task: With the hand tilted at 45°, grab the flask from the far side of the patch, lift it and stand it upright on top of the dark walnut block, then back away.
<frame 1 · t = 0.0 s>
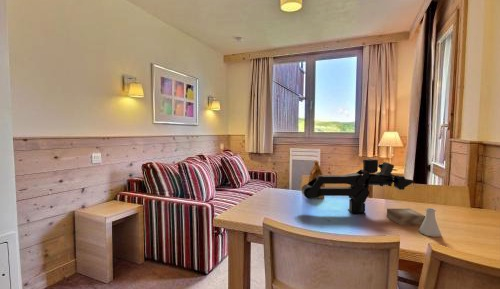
hand: (408, 179, 130), 17 cm above the table, tool horizontal, fingers open, 9 cm apart
coffee package: (316, 196, 161), on the table
flask: (429, 234, 104), on the table
walnut block: (405, 220, 118), on the table
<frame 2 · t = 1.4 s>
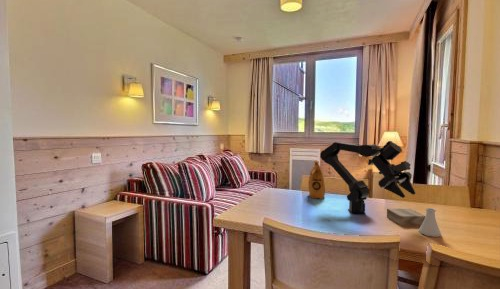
hand: (409, 195, 110), 14 cm above the table, tool tilted 45°, fingers open, 9 cm apart
nothing on the table moved.
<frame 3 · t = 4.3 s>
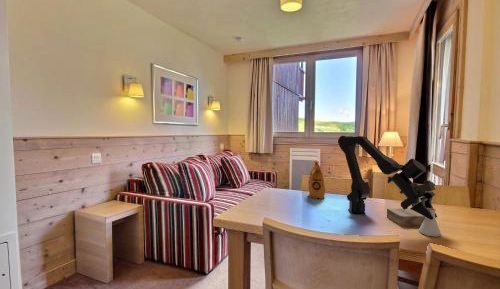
hand: (434, 218, 102), 7 cm above the table, tool tilted 45°, fingers closed on flask, 3 cm apart
flask: (429, 234, 104), on the table, touching gripper
everything else where it was.
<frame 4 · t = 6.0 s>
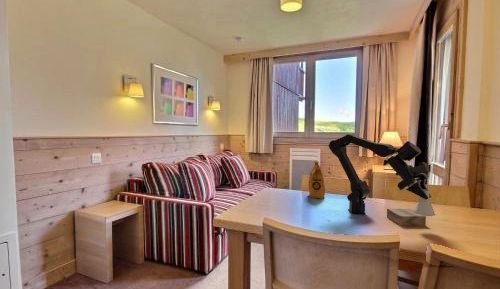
hand: (428, 198, 106), 14 cm above the table, tool tilted 45°, fingers closed on flask, 3 cm apart
flask: (423, 214, 107), point 6 cm above the table, touching gripper
everything else where it was.
when the fingers open (11 cm above the table, at t = 8.0 s): flask stays where it is, resting on walnut block.
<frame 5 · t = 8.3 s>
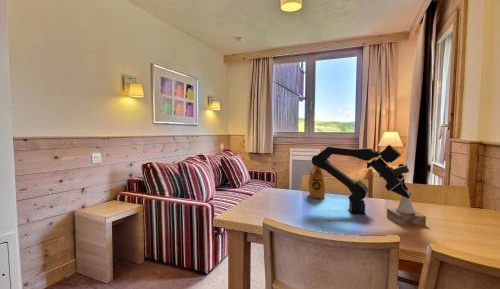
hand: (409, 196, 117), 12 cm above the table, tool tilted 45°, fingers open, 6 cm apart
flask: (405, 212, 118), point 4 cm above the table, touching walnut block
everything else where it was.
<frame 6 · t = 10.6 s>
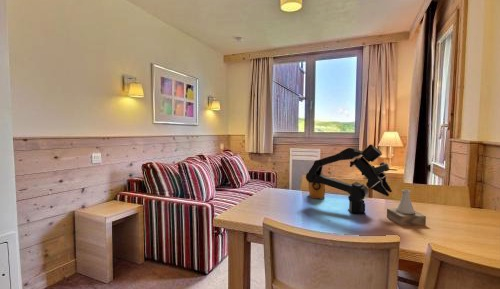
hand: (390, 193, 121), 12 cm above the table, tool tilted 45°, fingers open, 9 cm apart
nothing on the table moved.
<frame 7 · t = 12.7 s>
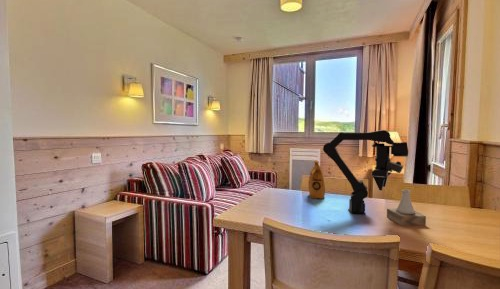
hand: (382, 188, 126), 13 cm above the table, tool pointing down, fingers open, 9 cm apart
nothing on the table moved.
at the end: flask inside the target area on the walnut block (0.1 cm from its centre), point 3.8 cm above the walnut block's base; flask tilted 0°; the gripper is holding nothing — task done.
